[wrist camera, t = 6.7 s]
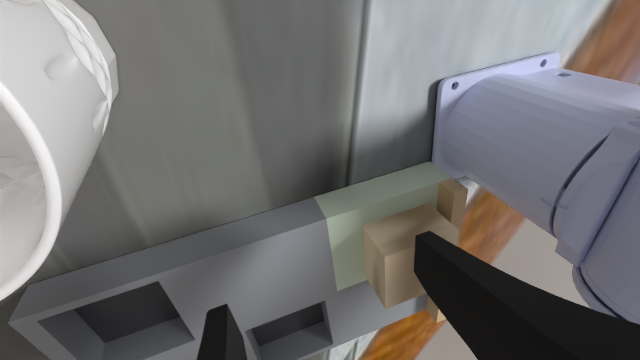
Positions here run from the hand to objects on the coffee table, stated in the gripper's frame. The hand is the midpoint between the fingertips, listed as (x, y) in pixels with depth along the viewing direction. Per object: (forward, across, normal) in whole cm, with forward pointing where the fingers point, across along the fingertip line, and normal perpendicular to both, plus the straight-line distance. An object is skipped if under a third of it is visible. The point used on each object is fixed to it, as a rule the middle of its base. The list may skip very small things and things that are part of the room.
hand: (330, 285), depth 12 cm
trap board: (+9, +2, +10) cm, 14 cm away
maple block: (+7, -7, +7) cm, 12 cm away
